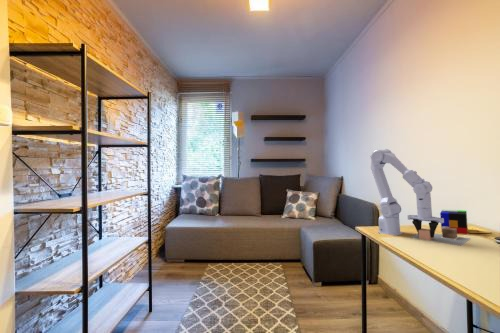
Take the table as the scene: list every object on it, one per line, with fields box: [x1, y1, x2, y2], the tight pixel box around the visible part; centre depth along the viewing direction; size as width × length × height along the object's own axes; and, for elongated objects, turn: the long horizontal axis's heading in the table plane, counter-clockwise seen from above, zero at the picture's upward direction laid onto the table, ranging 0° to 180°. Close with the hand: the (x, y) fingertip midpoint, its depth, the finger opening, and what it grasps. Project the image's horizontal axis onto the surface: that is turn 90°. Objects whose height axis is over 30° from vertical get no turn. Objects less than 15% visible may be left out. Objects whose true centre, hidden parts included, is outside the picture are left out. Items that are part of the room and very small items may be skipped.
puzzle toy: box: [439, 209, 469, 235], centre depth 135 cm, size 10×10×10 cm
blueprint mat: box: [409, 233, 471, 247], centre depth 125 cm, size 20×14×1 cm
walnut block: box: [441, 227, 458, 239], centre depth 125 cm, size 4×4×4 cm
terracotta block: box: [418, 227, 434, 241], centre depth 126 cm, size 4×4×4 cm
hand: (426, 236), depth 126 cm, fingers closed on terracotta block, 4 cm apart
